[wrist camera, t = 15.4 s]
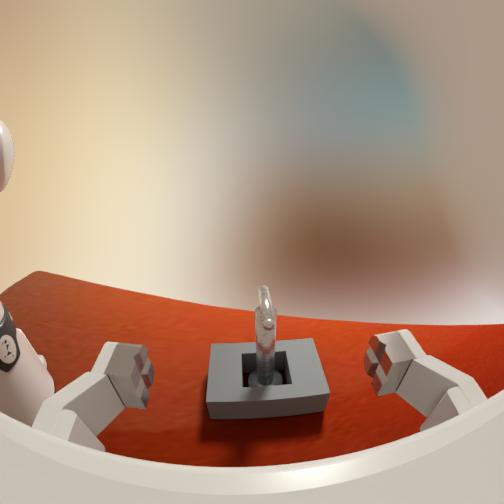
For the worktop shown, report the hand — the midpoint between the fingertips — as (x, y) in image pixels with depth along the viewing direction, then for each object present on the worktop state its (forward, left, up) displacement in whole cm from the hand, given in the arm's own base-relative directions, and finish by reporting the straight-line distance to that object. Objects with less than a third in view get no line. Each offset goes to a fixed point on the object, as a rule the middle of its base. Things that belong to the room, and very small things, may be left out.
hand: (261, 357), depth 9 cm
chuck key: (+2, +16, -23) cm, 28 cm away
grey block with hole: (+2, +17, -23) cm, 28 cm away
